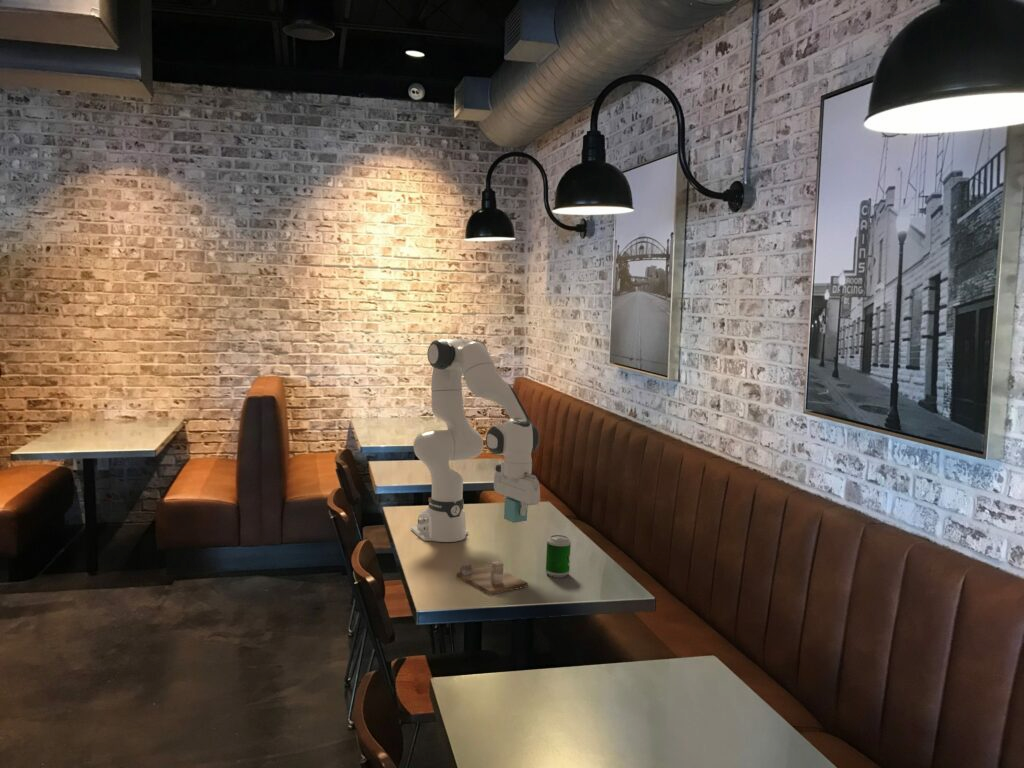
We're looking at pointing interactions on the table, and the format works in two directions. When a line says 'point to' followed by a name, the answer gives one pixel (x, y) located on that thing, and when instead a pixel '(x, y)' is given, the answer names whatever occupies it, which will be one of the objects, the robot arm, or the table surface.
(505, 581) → the stand
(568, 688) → the table surface
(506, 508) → the light blue toy cube
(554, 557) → the soda can
